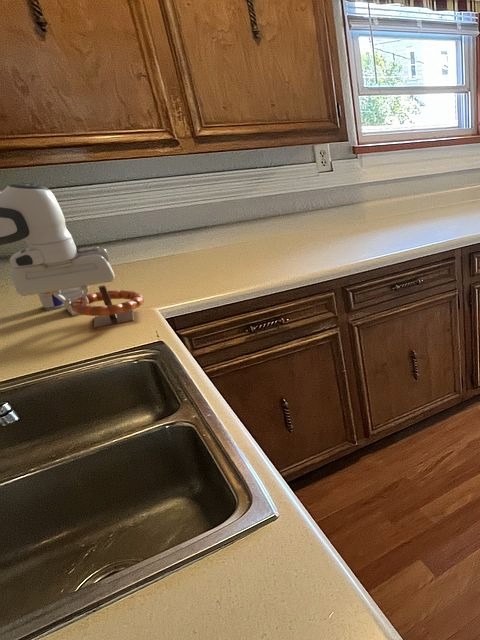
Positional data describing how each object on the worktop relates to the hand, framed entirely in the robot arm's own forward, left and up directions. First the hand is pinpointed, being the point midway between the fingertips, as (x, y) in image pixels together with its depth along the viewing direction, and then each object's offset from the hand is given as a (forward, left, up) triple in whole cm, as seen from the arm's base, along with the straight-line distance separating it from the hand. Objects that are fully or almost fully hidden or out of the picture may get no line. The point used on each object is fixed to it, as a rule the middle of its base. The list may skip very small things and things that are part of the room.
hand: (76, 304), depth 134 cm
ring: (+7, 0, -1) cm, 7 cm away
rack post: (+7, 0, -7) cm, 10 cm away
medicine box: (-2, +16, -7) cm, 18 cm away
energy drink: (-8, +24, -7) cm, 26 cm away
